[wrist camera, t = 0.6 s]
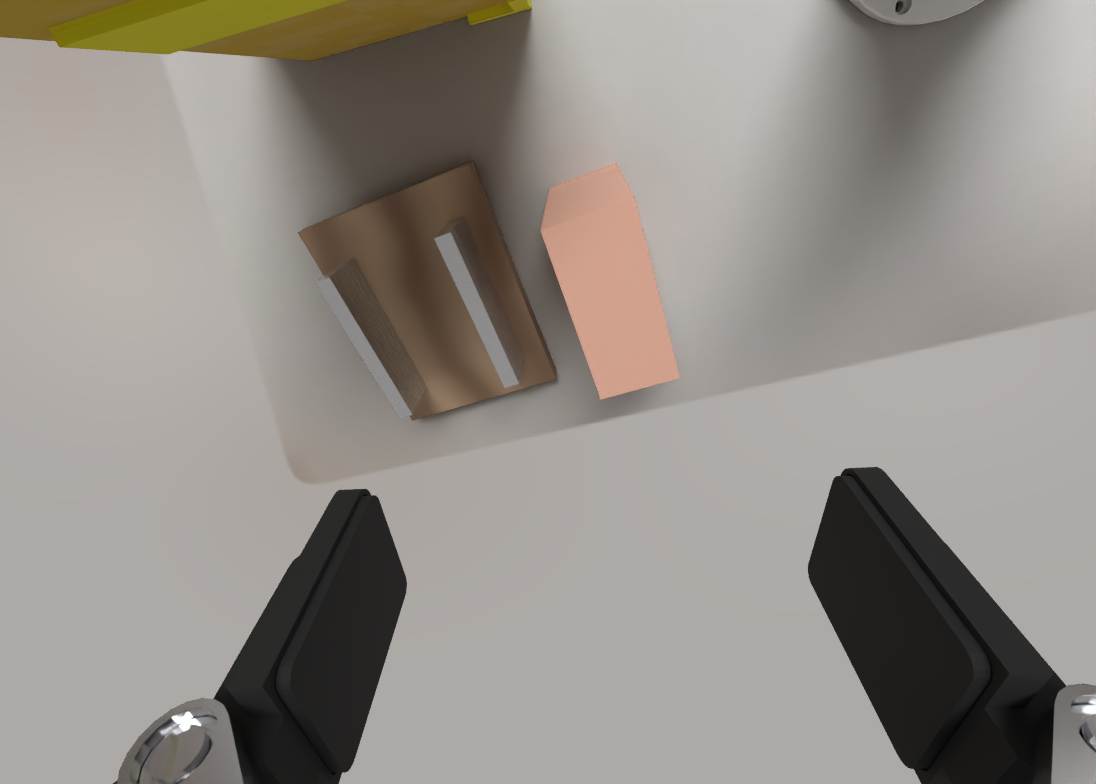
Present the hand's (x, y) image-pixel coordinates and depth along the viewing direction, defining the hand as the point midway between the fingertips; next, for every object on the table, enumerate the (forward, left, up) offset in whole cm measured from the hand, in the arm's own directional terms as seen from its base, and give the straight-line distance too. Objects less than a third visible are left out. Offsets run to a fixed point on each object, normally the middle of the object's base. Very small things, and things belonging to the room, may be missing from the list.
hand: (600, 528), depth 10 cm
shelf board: (+13, +3, -31) cm, 34 cm away
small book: (-1, +3, -31) cm, 31 cm away
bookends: (+13, +3, -29) cm, 32 cm away
